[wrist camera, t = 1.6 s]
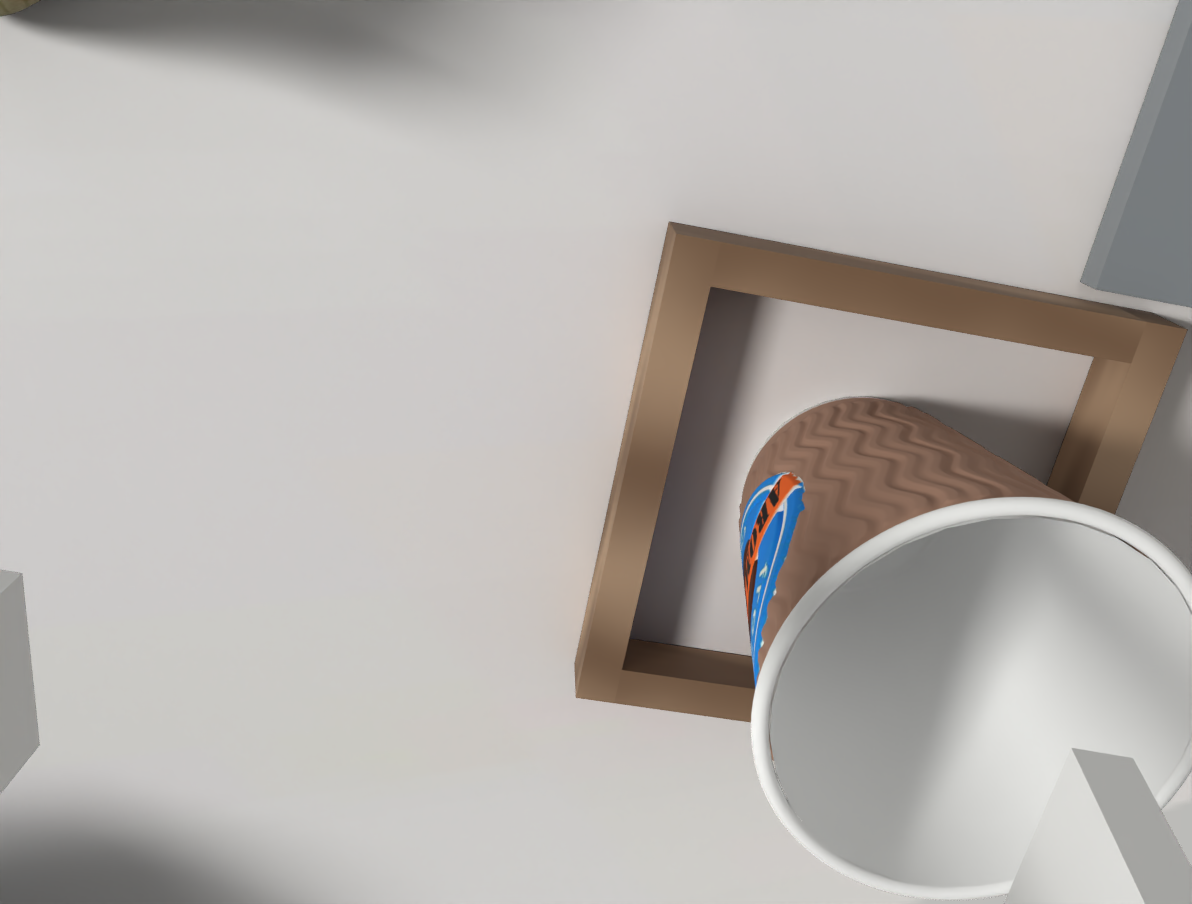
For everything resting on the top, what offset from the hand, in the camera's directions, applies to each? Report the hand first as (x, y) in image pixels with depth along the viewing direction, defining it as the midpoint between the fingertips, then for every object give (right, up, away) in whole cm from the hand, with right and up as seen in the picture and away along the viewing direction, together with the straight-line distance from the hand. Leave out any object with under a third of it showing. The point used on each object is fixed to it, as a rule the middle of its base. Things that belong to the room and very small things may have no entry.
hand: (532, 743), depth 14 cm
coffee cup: (+9, +2, +21) cm, 23 cm away
